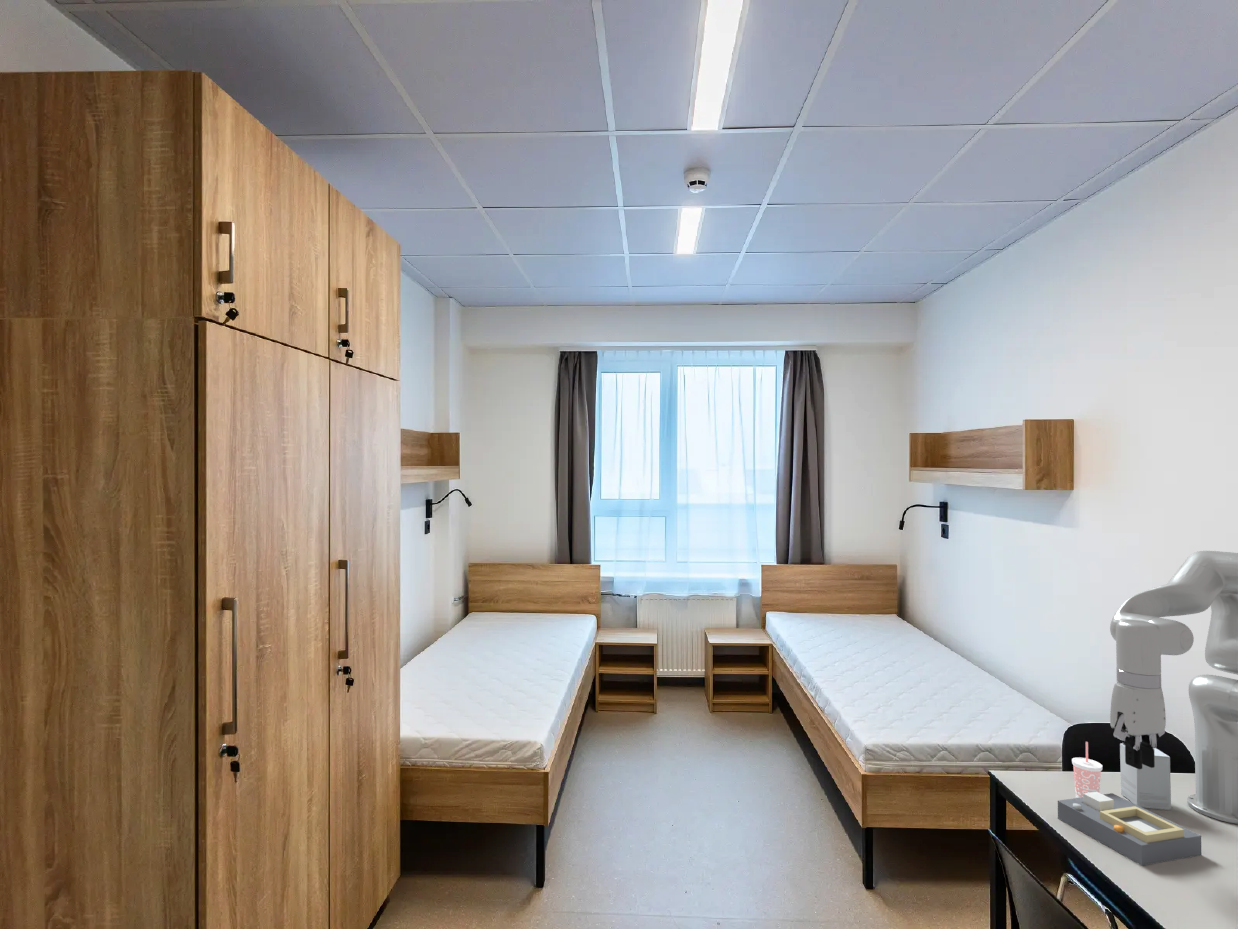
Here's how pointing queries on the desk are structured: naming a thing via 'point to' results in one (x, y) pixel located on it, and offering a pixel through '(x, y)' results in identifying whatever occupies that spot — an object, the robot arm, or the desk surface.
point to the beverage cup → (1086, 775)
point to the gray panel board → (1131, 830)
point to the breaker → (1098, 801)
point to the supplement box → (1147, 782)
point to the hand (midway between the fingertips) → (1139, 765)
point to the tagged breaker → (1141, 826)
